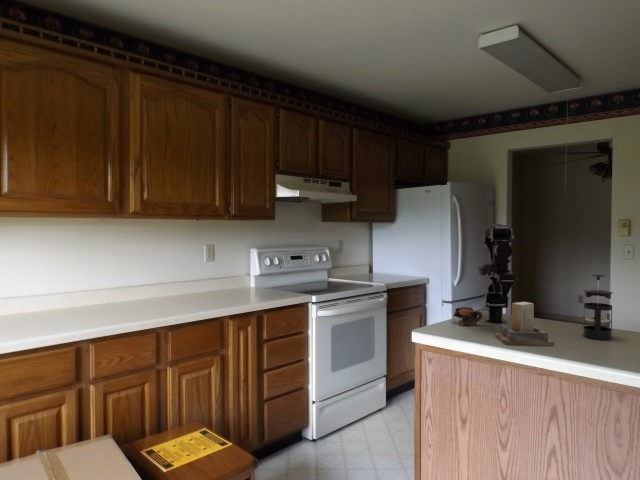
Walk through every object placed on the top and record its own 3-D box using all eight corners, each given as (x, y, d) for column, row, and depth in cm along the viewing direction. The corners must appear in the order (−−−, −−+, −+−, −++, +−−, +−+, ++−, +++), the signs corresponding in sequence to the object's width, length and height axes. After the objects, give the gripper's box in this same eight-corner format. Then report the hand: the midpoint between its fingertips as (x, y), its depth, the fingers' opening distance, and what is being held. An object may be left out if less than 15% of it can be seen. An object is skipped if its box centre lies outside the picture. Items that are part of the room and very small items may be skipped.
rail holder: (494, 335, 169) (494, 324, 169) (539, 336, 168) (539, 325, 168) (505, 344, 156) (505, 332, 156) (554, 345, 155) (554, 333, 155)
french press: (613, 342, 160) (614, 276, 160) (582, 338, 165) (583, 275, 164) (611, 335, 170) (612, 273, 170) (582, 332, 175) (583, 272, 174)
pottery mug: (450, 326, 188) (449, 307, 191) (459, 333, 194) (458, 314, 198) (479, 322, 181) (478, 302, 185) (488, 329, 187) (486, 310, 191)
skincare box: (524, 334, 166) (524, 301, 165) (534, 337, 162) (534, 303, 161) (510, 336, 163) (511, 302, 163) (520, 339, 159) (520, 304, 159)
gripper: (473, 255, 189) (473, 292, 190) (486, 258, 171) (485, 299, 171) (501, 255, 188) (501, 293, 189) (517, 258, 170) (516, 300, 170)
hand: (500, 296), depth 180 cm, fingers open, 9 cm apart
